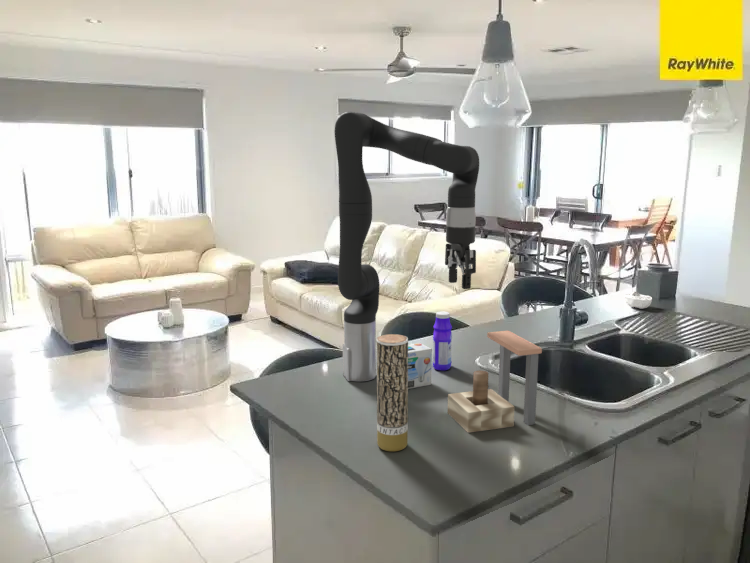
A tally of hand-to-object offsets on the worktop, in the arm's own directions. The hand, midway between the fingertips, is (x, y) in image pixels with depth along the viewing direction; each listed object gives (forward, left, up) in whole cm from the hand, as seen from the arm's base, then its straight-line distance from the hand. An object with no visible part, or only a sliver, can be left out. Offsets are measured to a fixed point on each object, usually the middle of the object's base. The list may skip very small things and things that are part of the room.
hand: (459, 285), depth 163 cm
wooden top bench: (+7, -17, -30) cm, 35 cm away
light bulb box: (-10, +10, -30) cm, 33 cm away
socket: (-2, -18, -30) cm, 35 cm away
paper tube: (-27, -25, -30) cm, 48 cm away
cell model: (+113, +65, -30) cm, 134 cm away
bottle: (+4, +20, -30) cm, 37 cm away
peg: (-2, -18, -30) cm, 35 cm away
